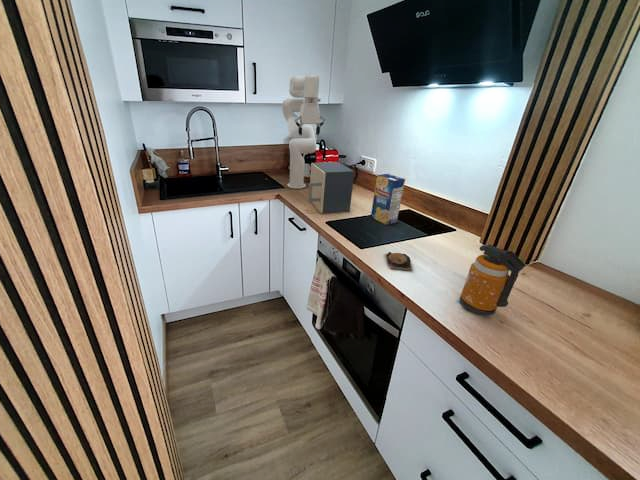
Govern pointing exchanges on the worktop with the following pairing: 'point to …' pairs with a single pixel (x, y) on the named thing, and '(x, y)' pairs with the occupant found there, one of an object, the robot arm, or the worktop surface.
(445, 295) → the worktop surface
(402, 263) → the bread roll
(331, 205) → the cupboard
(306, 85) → the robot arm
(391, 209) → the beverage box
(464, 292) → the canister
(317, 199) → the cupboard door
